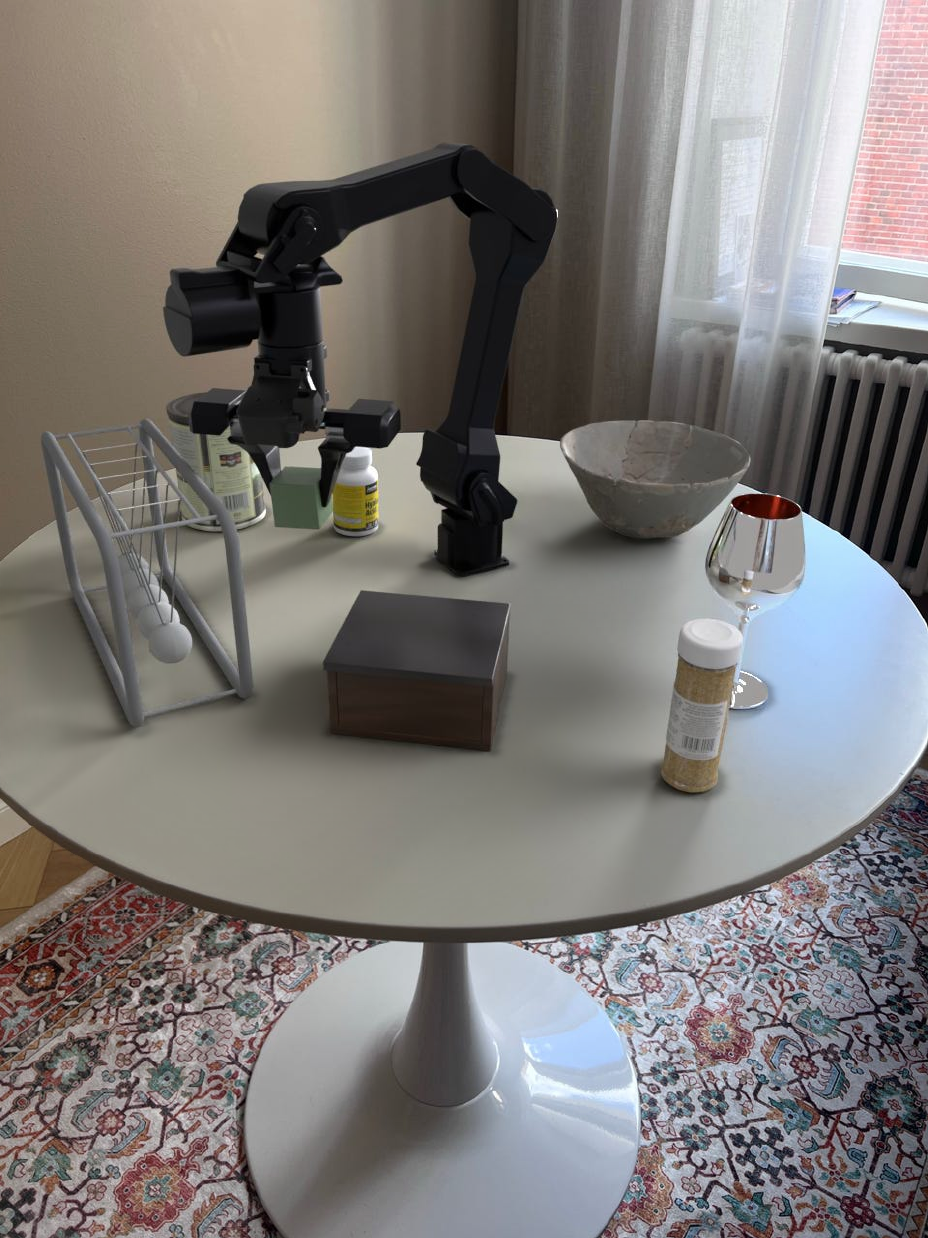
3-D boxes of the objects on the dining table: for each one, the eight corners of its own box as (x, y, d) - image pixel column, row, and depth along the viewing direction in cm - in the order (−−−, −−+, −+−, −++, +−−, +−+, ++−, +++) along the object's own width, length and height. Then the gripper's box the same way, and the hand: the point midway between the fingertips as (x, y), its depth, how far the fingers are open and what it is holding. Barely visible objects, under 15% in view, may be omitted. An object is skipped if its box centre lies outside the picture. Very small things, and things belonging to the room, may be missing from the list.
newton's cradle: (257, 706, 86) (238, 518, 77) (134, 739, 82) (100, 543, 73) (168, 569, 109) (146, 412, 100) (69, 588, 104) (37, 426, 96)
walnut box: (490, 751, 81) (493, 681, 78) (330, 733, 83) (326, 665, 79) (506, 676, 91) (510, 611, 88) (363, 661, 93) (360, 598, 89)
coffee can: (223, 493, 128) (211, 385, 121) (283, 511, 123) (275, 400, 116) (162, 519, 120) (146, 406, 114) (224, 539, 116) (211, 423, 109)
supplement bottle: (371, 540, 116) (369, 461, 112) (327, 535, 117) (323, 456, 113) (384, 522, 121) (382, 445, 116) (341, 517, 122) (338, 441, 117)
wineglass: (675, 666, 93) (702, 488, 84) (759, 664, 94) (795, 487, 85) (701, 716, 86) (733, 527, 77) (791, 713, 87) (833, 525, 78)
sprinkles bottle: (722, 769, 80) (749, 624, 73) (709, 802, 76) (737, 652, 69) (667, 753, 81) (688, 610, 75) (652, 785, 78) (673, 637, 71)
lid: (492, 687, 77) (492, 679, 77) (323, 670, 79) (322, 662, 78) (510, 611, 88) (510, 603, 87) (360, 597, 89) (360, 589, 89)
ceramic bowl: (673, 482, 135) (682, 411, 130) (775, 551, 116) (791, 471, 111) (524, 501, 128) (528, 427, 123) (608, 578, 109) (616, 494, 104)
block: (290, 508, 99) (285, 466, 96) (333, 511, 98) (329, 468, 96) (274, 527, 95) (269, 483, 93) (319, 529, 94) (315, 485, 92)
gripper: (150, 356, 82) (174, 528, 90) (369, 371, 79) (374, 547, 87) (204, 325, 91) (221, 484, 99) (401, 338, 89) (403, 500, 96)
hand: (301, 503), depth 95 cm, fingers closed on block, 4 cm apart
